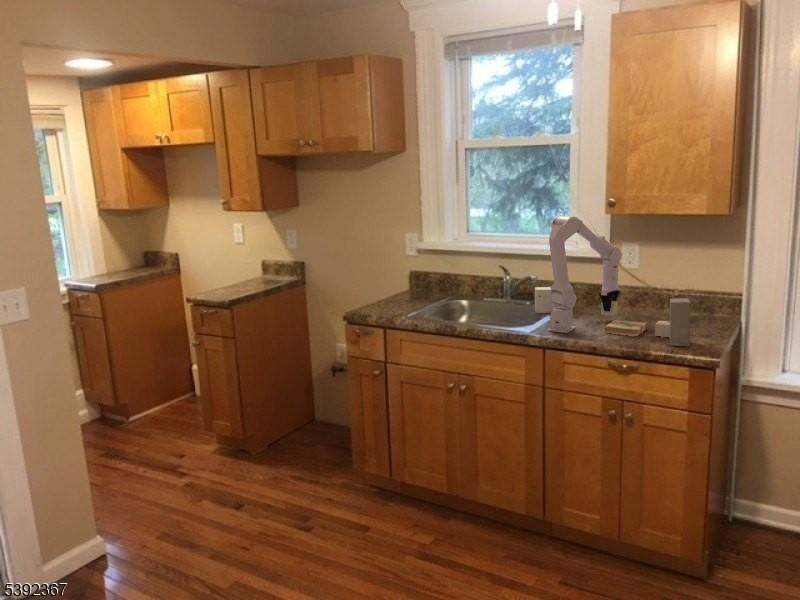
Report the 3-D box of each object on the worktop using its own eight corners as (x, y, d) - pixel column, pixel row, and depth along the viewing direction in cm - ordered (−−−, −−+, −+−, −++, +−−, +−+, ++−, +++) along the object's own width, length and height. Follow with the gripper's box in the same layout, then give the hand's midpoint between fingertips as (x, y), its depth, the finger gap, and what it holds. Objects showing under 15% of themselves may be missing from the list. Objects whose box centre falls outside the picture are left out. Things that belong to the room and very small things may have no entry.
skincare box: (690, 347, 224) (692, 302, 221) (667, 346, 227) (669, 301, 223) (689, 340, 232) (691, 297, 228) (667, 339, 234) (669, 296, 231)
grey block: (669, 338, 236) (669, 325, 235) (655, 336, 239) (655, 323, 238) (672, 335, 240) (673, 321, 239) (658, 333, 243) (659, 320, 242)
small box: (552, 310, 286) (553, 286, 283) (554, 313, 280) (554, 289, 278) (534, 310, 286) (534, 287, 284) (535, 313, 281) (535, 289, 279)
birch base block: (636, 338, 239) (637, 329, 239) (604, 334, 246) (604, 326, 246) (646, 330, 249) (646, 322, 248) (615, 326, 256) (615, 319, 255)
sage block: (613, 316, 258) (613, 303, 257) (600, 314, 261) (601, 302, 260) (617, 313, 262) (617, 301, 261) (605, 312, 265) (605, 300, 264)
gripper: (614, 280, 250) (613, 314, 253) (626, 274, 261) (624, 307, 264) (596, 278, 254) (595, 312, 257) (608, 273, 266) (607, 305, 268)
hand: (609, 309), depth 261 cm, fingers closed on sage block, 5 cm apart
